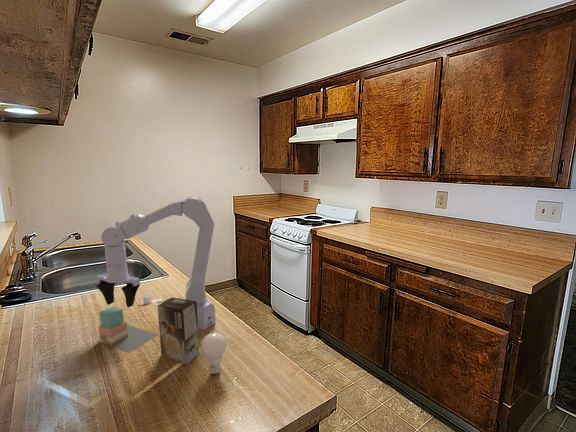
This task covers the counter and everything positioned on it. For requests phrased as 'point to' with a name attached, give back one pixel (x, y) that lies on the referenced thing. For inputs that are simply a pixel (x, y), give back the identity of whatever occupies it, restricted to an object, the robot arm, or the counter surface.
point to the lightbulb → (213, 350)
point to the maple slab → (113, 338)
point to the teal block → (111, 317)
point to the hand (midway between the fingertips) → (120, 304)
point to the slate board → (133, 339)
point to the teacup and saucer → (149, 299)
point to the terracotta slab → (113, 330)
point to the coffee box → (178, 329)
